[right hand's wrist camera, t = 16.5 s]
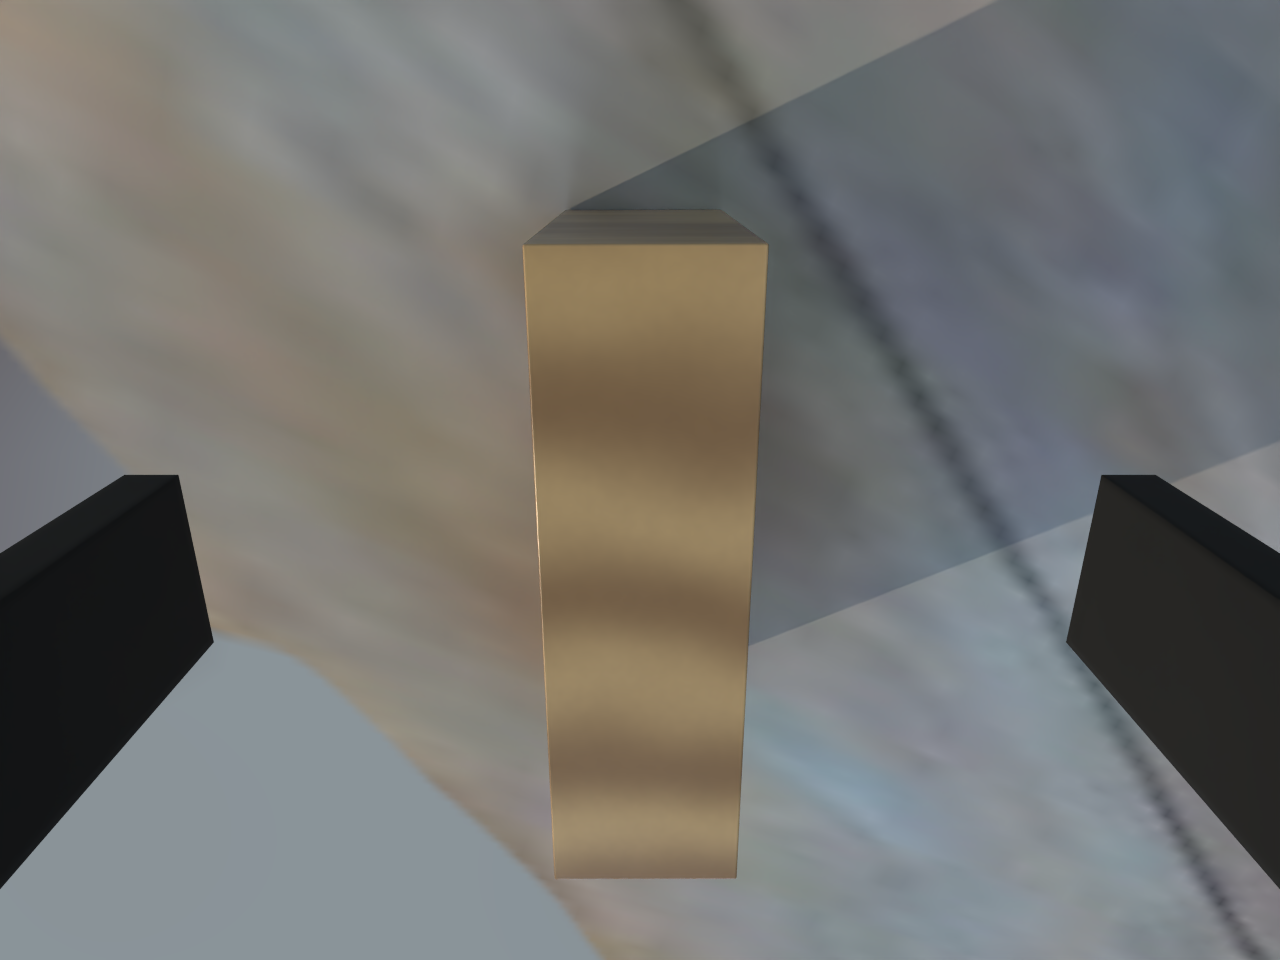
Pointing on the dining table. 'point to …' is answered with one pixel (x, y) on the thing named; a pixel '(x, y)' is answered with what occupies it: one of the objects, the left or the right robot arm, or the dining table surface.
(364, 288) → the dining table surface
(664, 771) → the box
